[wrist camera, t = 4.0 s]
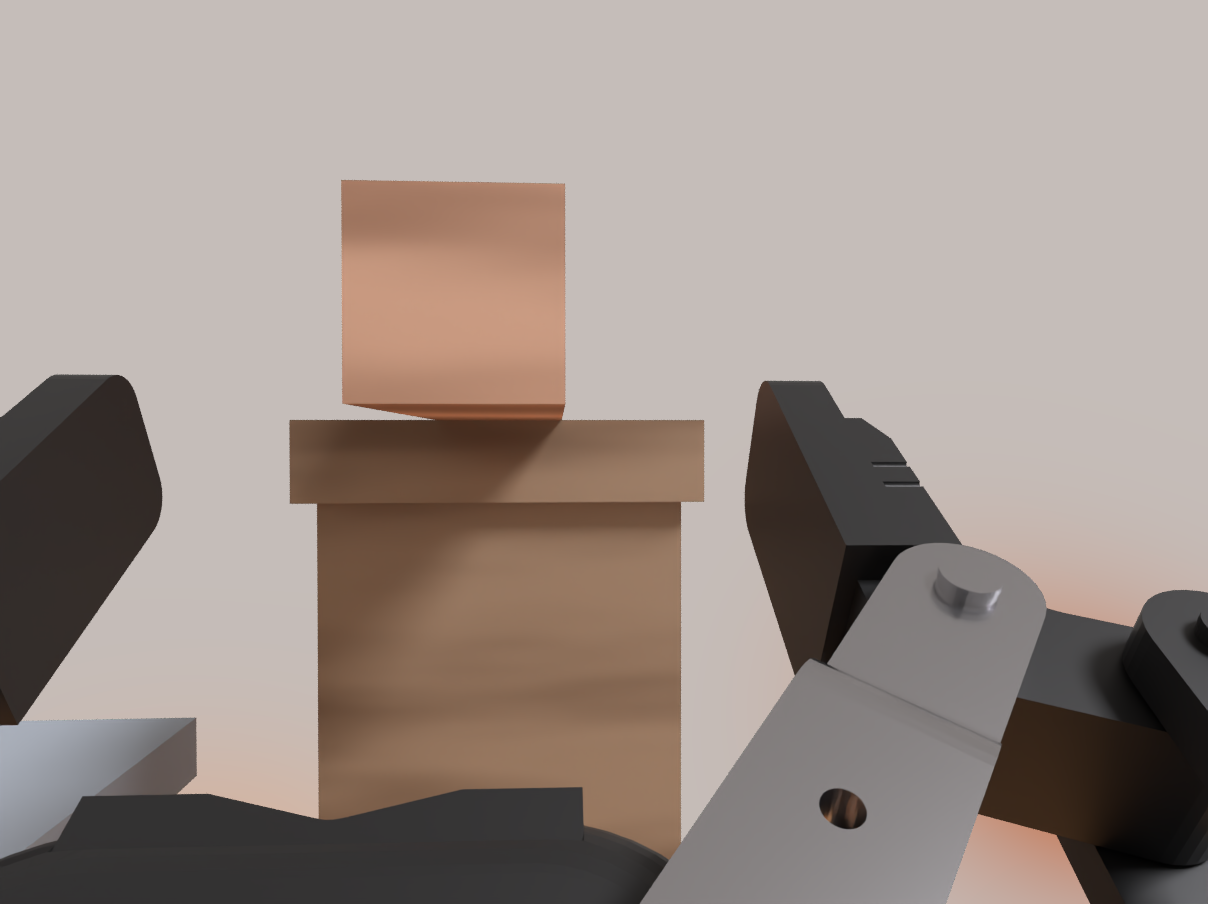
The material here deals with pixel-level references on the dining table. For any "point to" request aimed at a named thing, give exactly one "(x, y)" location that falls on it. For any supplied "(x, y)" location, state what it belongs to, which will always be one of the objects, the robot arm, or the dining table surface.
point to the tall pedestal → (501, 610)
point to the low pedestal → (84, 769)
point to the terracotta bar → (454, 299)
